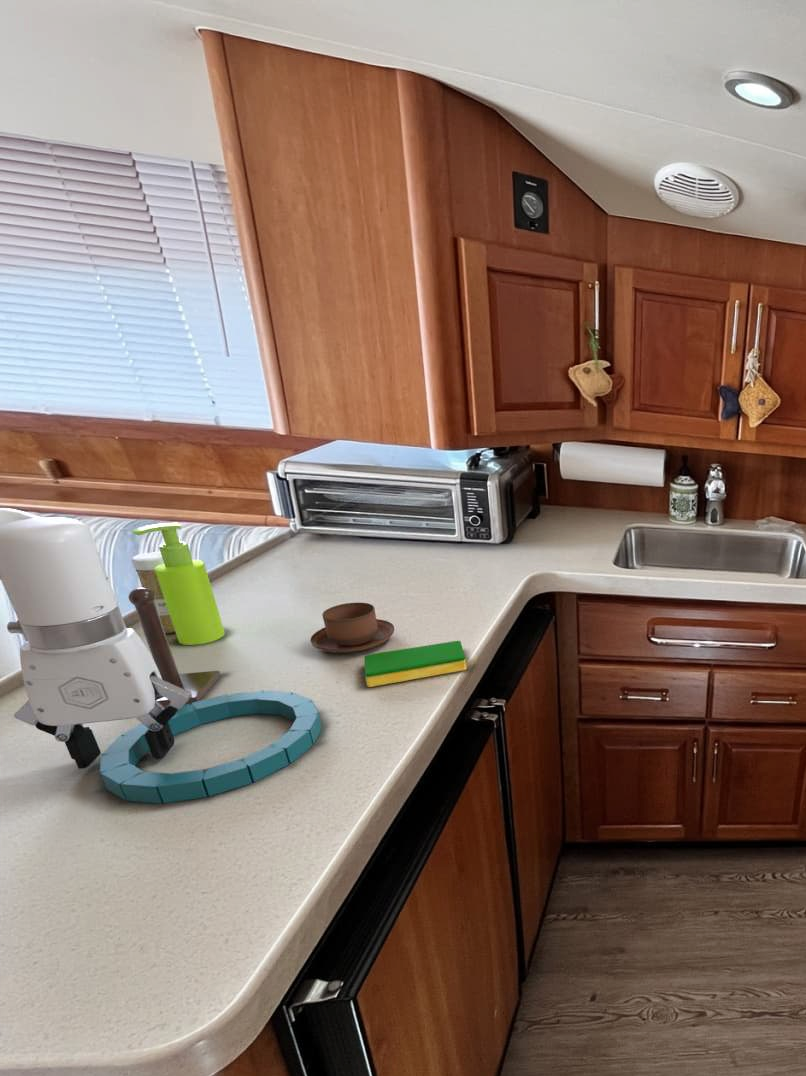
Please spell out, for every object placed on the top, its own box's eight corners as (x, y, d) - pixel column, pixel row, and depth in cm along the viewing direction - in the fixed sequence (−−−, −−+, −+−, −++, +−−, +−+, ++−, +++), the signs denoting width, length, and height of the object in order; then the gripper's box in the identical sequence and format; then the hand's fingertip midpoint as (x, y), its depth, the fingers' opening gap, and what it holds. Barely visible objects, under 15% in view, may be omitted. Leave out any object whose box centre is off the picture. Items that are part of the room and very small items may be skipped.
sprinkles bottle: (176, 634, 108) (152, 560, 103) (148, 633, 108) (122, 558, 102) (199, 623, 112) (176, 551, 107) (172, 622, 112) (148, 550, 107)
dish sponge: (367, 667, 103) (364, 654, 102) (461, 652, 110) (460, 639, 109) (367, 688, 98) (364, 674, 97) (467, 670, 105) (465, 657, 104)
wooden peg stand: (124, 710, 88) (82, 601, 82) (153, 682, 95) (116, 579, 88) (197, 703, 91) (162, 597, 84) (220, 675, 98) (189, 576, 91)
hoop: (64, 818, 70) (56, 800, 69) (158, 716, 87) (152, 701, 86) (294, 784, 77) (289, 768, 76) (337, 697, 95) (334, 683, 94)
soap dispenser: (165, 639, 106) (126, 524, 99) (218, 626, 112) (185, 517, 104) (176, 650, 103) (137, 533, 96) (230, 637, 109) (197, 525, 101)
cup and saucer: (297, 647, 107) (288, 614, 105) (368, 622, 118) (361, 592, 115) (341, 666, 103) (333, 632, 101) (411, 639, 113) (405, 607, 111)
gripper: (-58, 649, 66) (11, 788, 72) (158, 634, 72) (202, 763, 79) (-6, 620, 72) (53, 750, 79) (188, 608, 78) (227, 730, 85)
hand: (127, 755), depth 79 cm, fingers open, 6 cm apart
